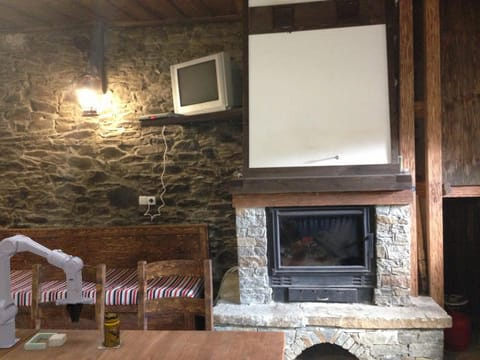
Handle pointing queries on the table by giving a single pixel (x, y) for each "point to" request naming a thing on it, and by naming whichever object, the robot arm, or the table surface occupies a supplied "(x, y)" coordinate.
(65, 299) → the robot arm
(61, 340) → the cream square block
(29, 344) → the box
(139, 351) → the table surface
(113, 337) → the condiment
